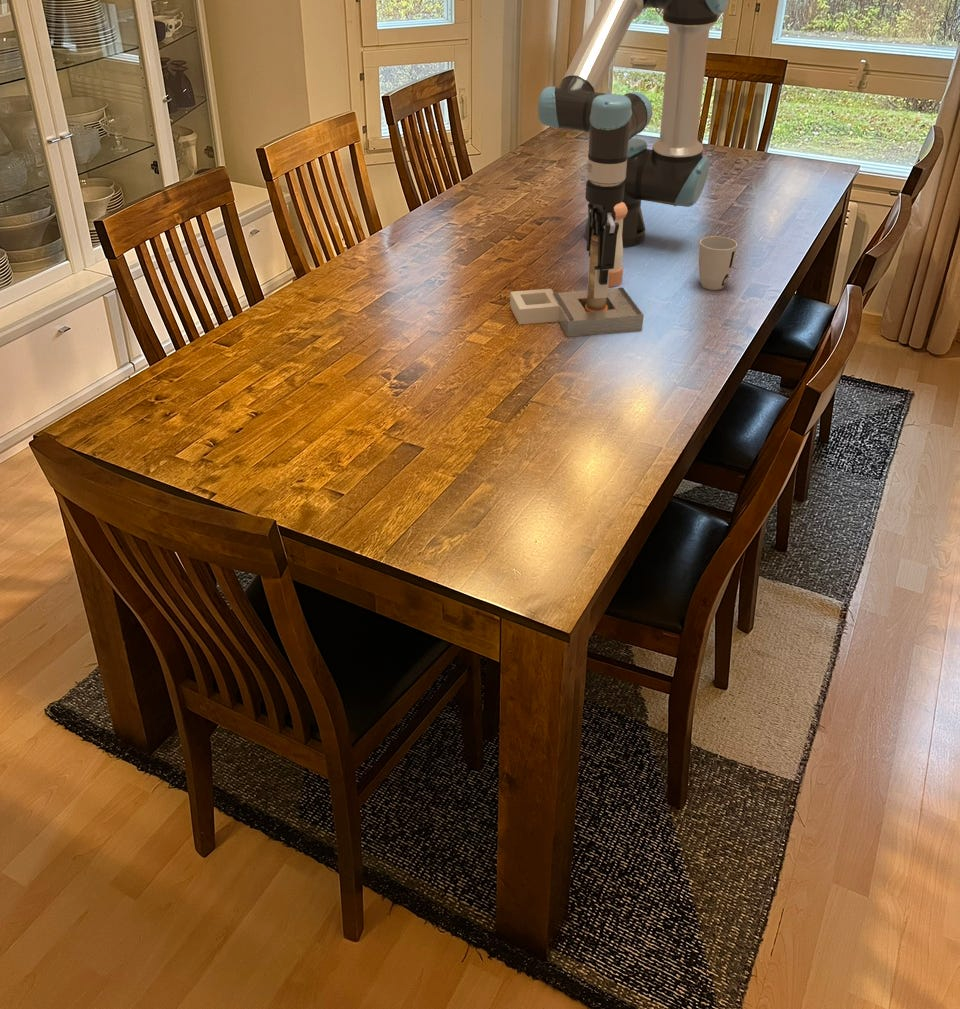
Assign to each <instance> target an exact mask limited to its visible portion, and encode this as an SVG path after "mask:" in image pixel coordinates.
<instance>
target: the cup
mask: <svg viewBox="0 0 960 1009" xmlns="http://www.w3.org/2000/svg"><path fill="white" fill-rule="evenodd" d="M737 248H738V242H737V241H735V240H734V239H732V238H729V237H725V236H719V235H718V236H717V235H713V236H706V237H703V238H702V239H700V240H699V248H698V249H699V251H698V252H699V253H698V270H699V271H698V272H699V273H698V274H699V279H700V285H701V287H702V288H704V289H706V290H711V291H718V290H722V289H724V287H725V285H726V283H727V282H728V279H729V277H730V275H731V271H732V268H733V265H734V261H735V258H736V252H737Z"/></svg>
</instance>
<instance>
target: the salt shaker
mask: <svg viewBox="0 0 960 1009" xmlns="http://www.w3.org/2000/svg"><path fill="white" fill-rule="evenodd" d="M614 211H615V214H616V218H615V221H614V223H619V229H618V233H617V241H616V251H615V261H614V269H610V270H609V282H608V288H615V287H618V286H620V285H621V284H622V282H623V275H624V267H623V265H622V264H623V256H624V247H623V243H622V229H623V218H624V217H625V216H626V214H627V212H628V210H627V207H626V205H625V203H623V202H621V203H619V204H617V205H615V206H614Z"/></svg>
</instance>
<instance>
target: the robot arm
mask: <svg viewBox="0 0 960 1009" xmlns="http://www.w3.org/2000/svg"><path fill="white" fill-rule="evenodd" d="M728 4H729V0H600V4H599V6H598V8H597V10H596V12H595V14H594V16H593V18H592V20H591V22H590V24H589V26H588V28H587V30H586V32H585V34H584V35H583V38H582V40H581V41H580V42H581V43H579V46H578V48H577V50H576V52H575V54H574V57H573V58H572V61H571V62H570V64H569V66H568V67H567V70H566V72H565V74H564V76H563V78H562V79H561V82H560V84H559V86H555V85H554V86H547V87H545V88H543V89H542V91H541V93H540V95H539V99H538V103H537V115H538V119H539V122H540V123H541V124H542V125H544V126H547V127H549V128H550V127H551V128H556V129H558V130H570V131H578V132H579V131H580V132H587V133H589V134H588V138H589V139H588V152H587V158H588V159H587V163H586V164H585V167H584V169H585V170H587V171H586V178H587V180H586V181H585V182H586V184H585V200H586V201H587V202H588V204H587V208H588V209H587V210H588V211H587V214H588V215H587V220H586V222H585V224H584V225H585V226H584V231H583V232H584V234H583V236H584V237H585V238H584V239H586V248H585V249H586V251H587V252H588V258H589V261H588V262H589V263H588V266H589V265H590V251H591V237H592V236H593V235H598V266H594V269H595V270H596V272H595V286H594V298H595V299H596V298H607V295H608V289H609V287H608V282H609V270H610V269H614V261H615V251H616V241H617V233H618V229H619V223H614V221H615V218H616V214H615V211H614V206H615V205H617V204H619V203H621V202H623V203H625V205H626V207H627V210H628V212H627V214H626V216H625V217H624V218H623V229H622V243H623V248H626V247H627V248H628V247H633V246H636V245H639V244H641V243H643V242H644V240H645V238H646V225H645V220H644V216H643V213H642V212H643V211H642V208H641V206H642V201H645V202H651V203H657V204H664V205H669V206H673V207H684V208H685V207H686V208H689V207H692V206H694V205H695V204H697V202H698V200H699V198H700V197H701V195H702V193H703V190H704V189H705V188H704V187H705V185H706V182H707V179H708V175H709V171H710V166H711V165H710V158H709V157H707V156H706V155H704V156H703V152H704V146H703V144H702V143H701V142H700V141H699V140H698V136H699V127H700V118H701V109H702V100H703V90H704V82H705V72H706V64H707V63H706V62H707V54H708V53H707V52H708V46H709V44H708V43H709V38H710V37H709V36H710V29H711V28H712V27H713V26H714V25H715V24H716V23H717V22H718V19H719V18H718V17H719V15H721V14H723V13H724V12H725V11H726V10H727V8H728ZM646 8H653V9H661V10H662V11H663V13H662V22H663V23H664V24H665V25H666V26H667V27H668V35H667V36H668V37H667V48H666V49H667V50H666V62H665V72H664V74H665V75H664V85H663V86H664V87H663V96H662V97H663V99H662V110H661V121H660V132H659V133H660V134H659V139H657V140H656V141H655V142H654V143H653V144H652V149H650V148H648V144H647V142H646V140H644V139H641V138H633V137H635V136H637V135H639V134H640V133H642V132H643V131H644V130H645V129H646V127H647V126H648V125H649V124H650V122H651V120H652V117H653V105H652V103H651V101H650V100H649V97H647V96H646V95H645V94H643V93H641V92H638V91H631V92H627V93H625V94H617V93H604V92H598V91H599V89H600V86H601V85H602V82H603V81H604V79H605V76H606V75H607V72H608V70H609V68H610V66H611V64H612V63H613V60H614V58H615V57H616V54H617V52H618V50H619V48H620V45H622V42H623V40H624V38H625V35H626V33H627V32H628V29H629V27H630V26H631V24H632V22H633V21H634V20H636V19H637V18H638V17H639V16H641V14H642V12H643V10H644V9H646ZM587 274H588V275H587V281H588V280H589V273H587Z"/></svg>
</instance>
